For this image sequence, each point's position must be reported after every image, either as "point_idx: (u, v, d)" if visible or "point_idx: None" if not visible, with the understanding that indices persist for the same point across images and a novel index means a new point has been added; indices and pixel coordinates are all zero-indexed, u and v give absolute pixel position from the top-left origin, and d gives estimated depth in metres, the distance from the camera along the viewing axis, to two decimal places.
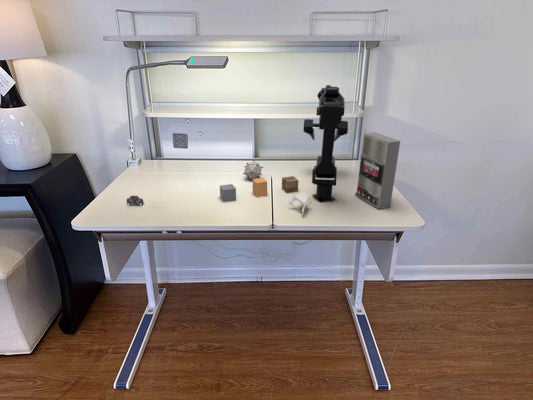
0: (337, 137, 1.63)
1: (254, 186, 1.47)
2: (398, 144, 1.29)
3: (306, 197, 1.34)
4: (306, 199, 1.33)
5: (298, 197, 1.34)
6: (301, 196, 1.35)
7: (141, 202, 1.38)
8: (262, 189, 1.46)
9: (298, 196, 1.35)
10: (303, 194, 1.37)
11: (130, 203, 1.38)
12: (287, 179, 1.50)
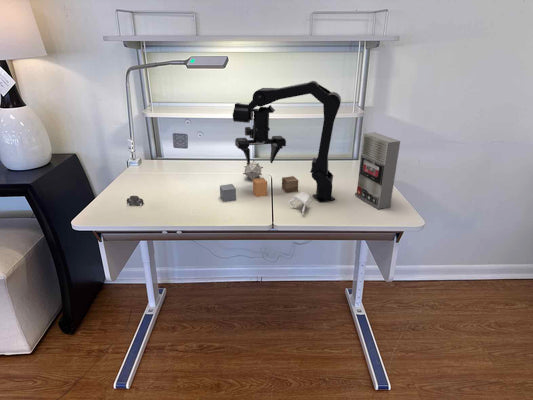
0: (275, 153, 1.44)
1: (254, 186, 1.47)
2: (398, 144, 1.29)
3: (306, 197, 1.35)
4: (306, 199, 1.33)
5: (298, 197, 1.35)
6: (301, 195, 1.36)
7: (141, 202, 1.38)
8: (262, 189, 1.46)
9: (298, 196, 1.35)
10: (303, 194, 1.37)
11: (130, 203, 1.38)
12: (287, 179, 1.50)
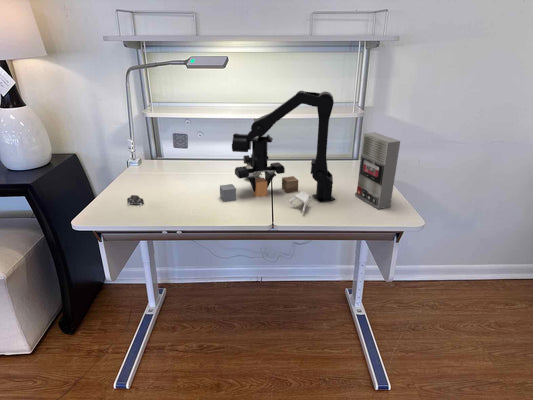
0: (269, 181, 1.46)
1: None
2: (398, 144, 1.29)
3: (306, 196, 1.35)
4: (306, 198, 1.34)
5: (298, 196, 1.35)
6: (301, 195, 1.36)
7: (141, 202, 1.38)
8: (262, 189, 1.46)
9: (298, 195, 1.36)
10: (303, 193, 1.38)
11: (131, 202, 1.39)
12: (287, 179, 1.50)
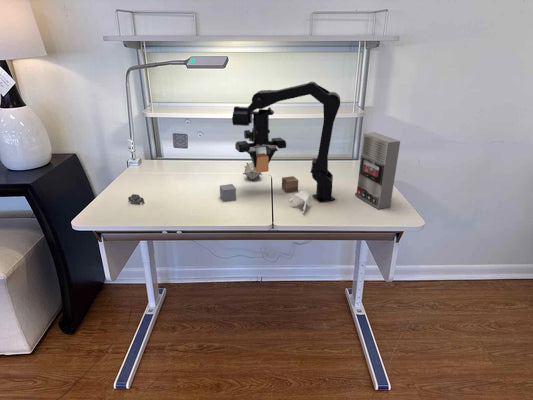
0: (271, 156, 1.43)
1: None
2: (398, 144, 1.29)
3: (306, 195, 1.36)
4: (307, 197, 1.34)
5: (298, 195, 1.36)
6: (302, 194, 1.37)
7: (142, 201, 1.39)
8: (264, 165, 1.43)
9: (298, 194, 1.37)
10: (303, 192, 1.38)
11: (131, 201, 1.39)
12: (287, 179, 1.50)
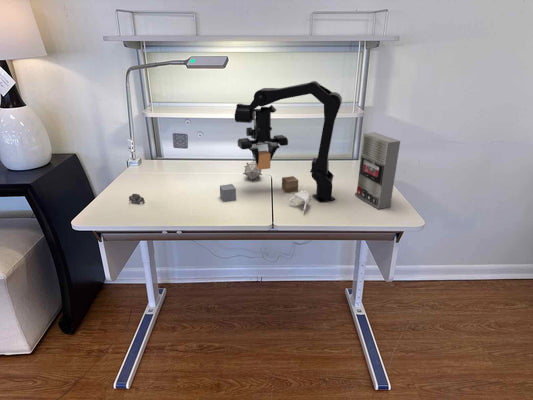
0: (272, 153, 1.44)
1: None
2: (398, 144, 1.29)
3: (306, 194, 1.36)
4: (307, 196, 1.35)
5: (299, 195, 1.36)
6: (302, 194, 1.37)
7: (142, 201, 1.39)
8: (265, 162, 1.44)
9: (298, 194, 1.37)
10: (303, 192, 1.39)
11: (132, 201, 1.40)
12: (287, 179, 1.50)
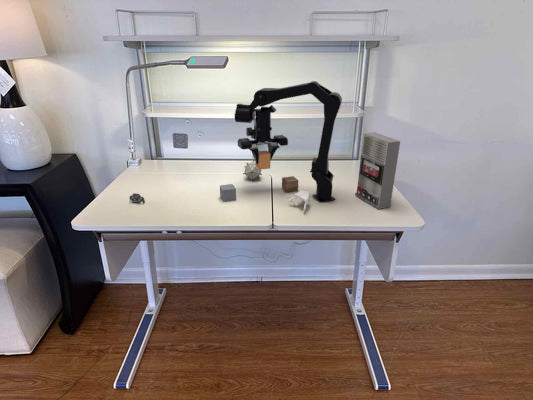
0: (272, 153, 1.44)
1: None
2: (398, 144, 1.29)
3: (306, 194, 1.37)
4: (307, 196, 1.35)
5: (298, 194, 1.36)
6: (301, 193, 1.37)
7: (142, 200, 1.39)
8: (265, 162, 1.44)
9: (298, 193, 1.37)
10: (303, 191, 1.39)
11: (133, 200, 1.40)
12: (287, 179, 1.50)
